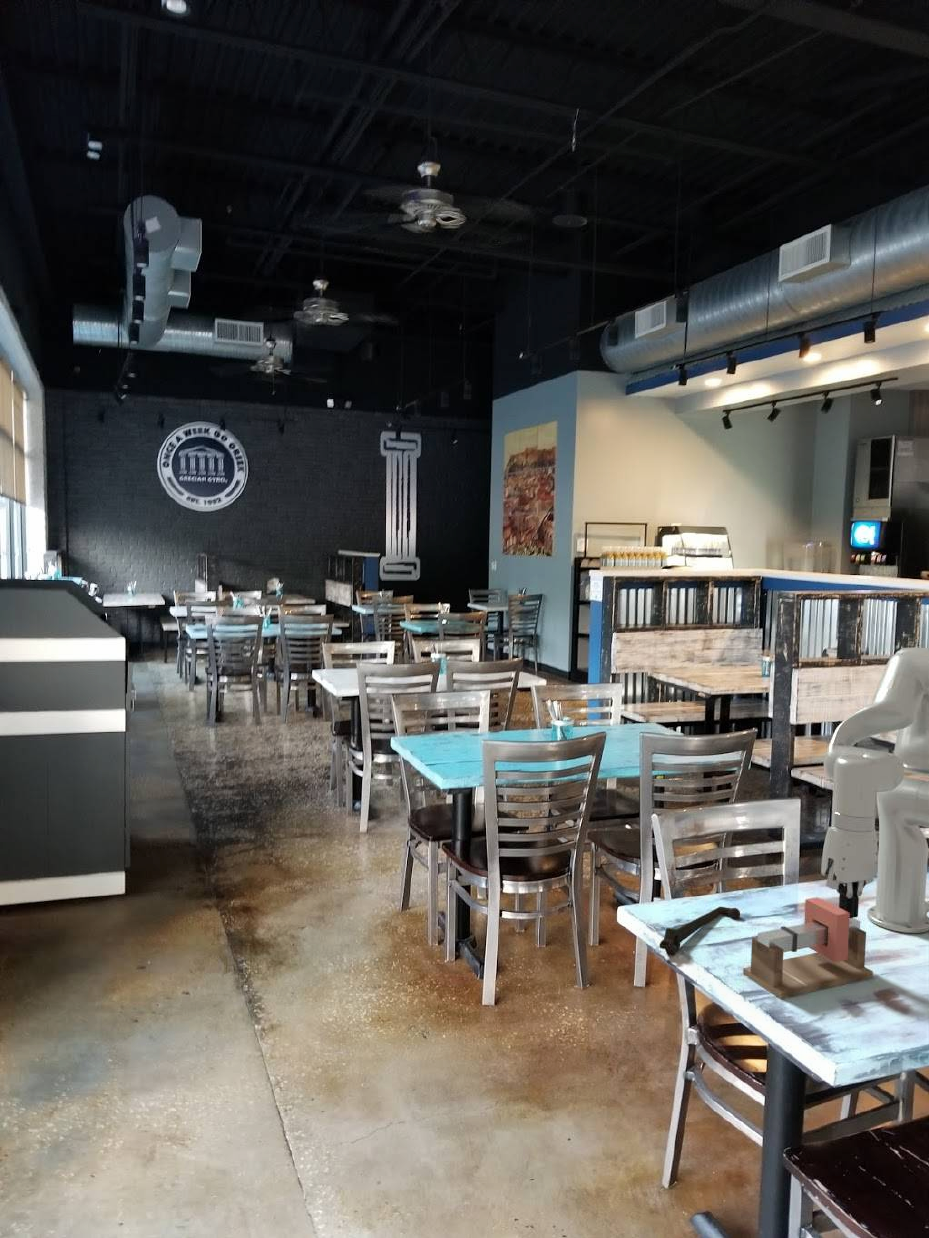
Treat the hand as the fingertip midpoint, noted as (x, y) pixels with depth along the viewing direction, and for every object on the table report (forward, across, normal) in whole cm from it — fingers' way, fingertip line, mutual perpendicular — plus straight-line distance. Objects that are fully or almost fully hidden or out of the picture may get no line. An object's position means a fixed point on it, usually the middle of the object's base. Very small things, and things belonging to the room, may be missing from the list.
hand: (848, 914), depth 173 cm
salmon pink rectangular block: (+6, +5, 0) cm, 8 cm away
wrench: (+11, +17, -22) cm, 30 cm away
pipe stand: (+10, +9, 0) cm, 14 cm away
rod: (+4, +9, 0) cm, 10 cm away
